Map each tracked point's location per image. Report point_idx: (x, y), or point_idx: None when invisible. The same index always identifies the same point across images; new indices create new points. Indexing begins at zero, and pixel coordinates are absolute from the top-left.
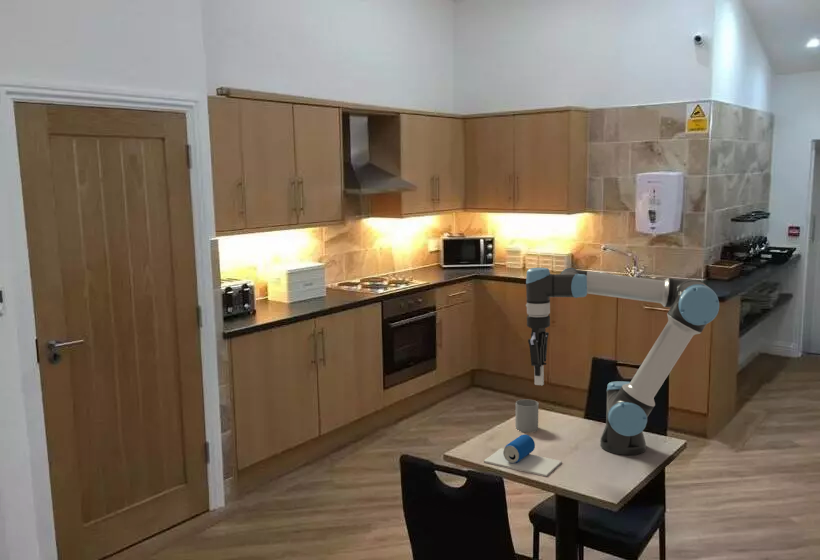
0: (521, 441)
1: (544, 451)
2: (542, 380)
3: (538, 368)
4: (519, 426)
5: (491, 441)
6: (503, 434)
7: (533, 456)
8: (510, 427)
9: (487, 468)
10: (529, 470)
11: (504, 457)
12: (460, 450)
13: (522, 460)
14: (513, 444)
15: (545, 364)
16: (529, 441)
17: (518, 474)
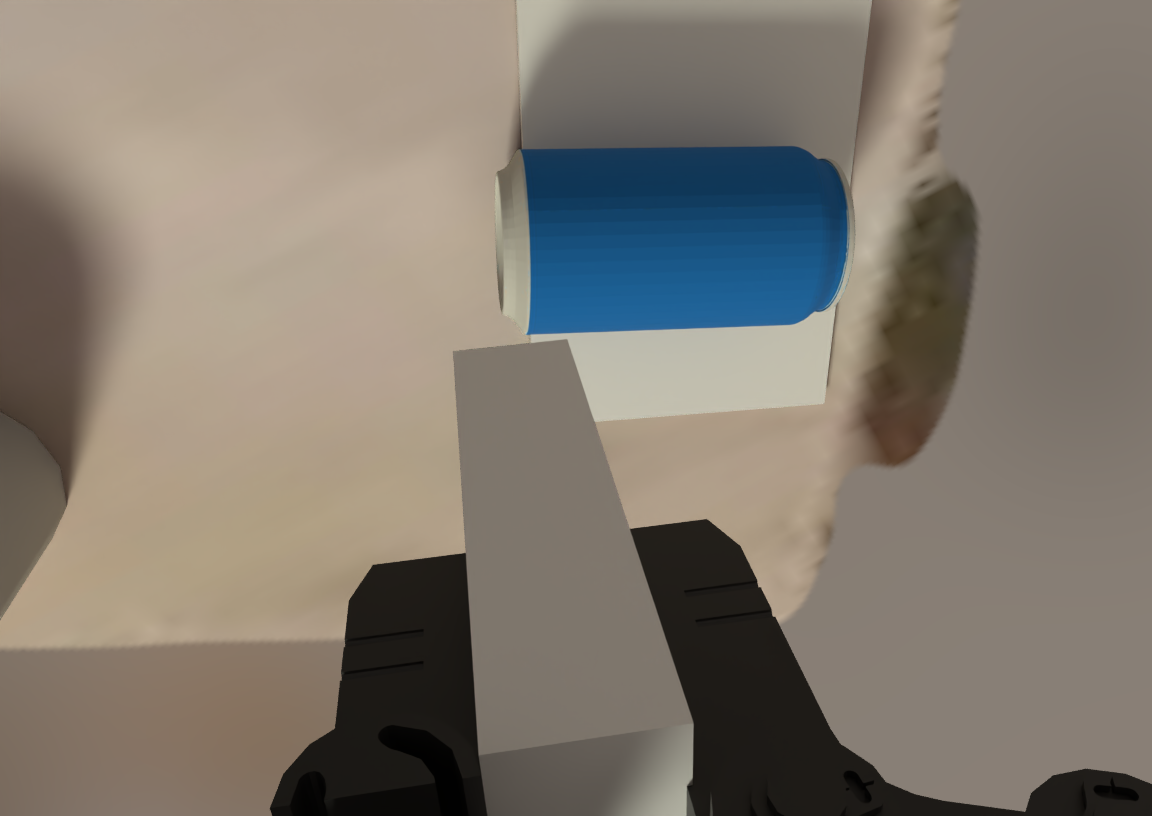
0: (713, 229)
1: (346, 108)
2: (560, 400)
3: (816, 725)
4: (49, 524)
5: (423, 549)
6: (230, 555)
7: (554, 125)
8: (46, 590)
9: (909, 324)
10: (861, 13)
11: None
12: None
13: None
14: (828, 253)
15: (433, 735)
16: (604, 188)
17: (927, 74)
